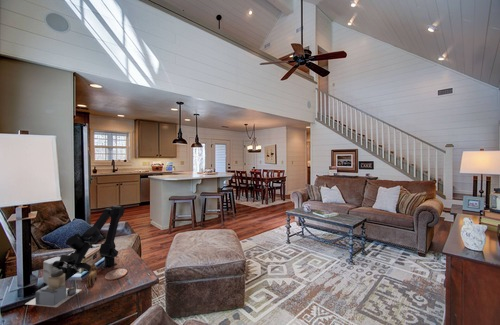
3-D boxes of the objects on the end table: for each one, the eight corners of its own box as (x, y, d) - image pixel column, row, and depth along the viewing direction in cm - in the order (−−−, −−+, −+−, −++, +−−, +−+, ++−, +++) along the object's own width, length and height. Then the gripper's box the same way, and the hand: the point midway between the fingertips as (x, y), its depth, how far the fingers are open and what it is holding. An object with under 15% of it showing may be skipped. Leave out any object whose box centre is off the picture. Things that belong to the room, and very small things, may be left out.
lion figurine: (86, 278, 131) (86, 263, 130) (97, 275, 134) (97, 261, 134) (86, 290, 119) (86, 274, 119) (98, 287, 122) (98, 271, 122)
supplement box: (42, 282, 125) (42, 261, 125) (58, 276, 132) (58, 255, 132) (49, 286, 122) (49, 263, 122) (65, 279, 129) (65, 258, 129)
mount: (53, 289, 120) (53, 274, 119) (82, 291, 118) (82, 277, 118) (24, 306, 106) (24, 290, 105) (56, 309, 104) (56, 293, 104)
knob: (56, 293, 114) (56, 270, 113) (65, 294, 113) (65, 270, 113) (48, 298, 109) (48, 274, 109) (57, 299, 109) (57, 275, 108)
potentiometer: (70, 292, 115) (69, 285, 115) (77, 291, 116) (77, 284, 116) (65, 296, 112) (65, 290, 112) (73, 295, 112) (73, 289, 112)
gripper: (55, 246, 119) (33, 277, 109) (86, 248, 117) (67, 280, 107) (68, 254, 127) (49, 283, 117) (98, 256, 125) (81, 286, 115)
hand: (61, 283), depth 113 cm, fingers closed, pressing on knob
